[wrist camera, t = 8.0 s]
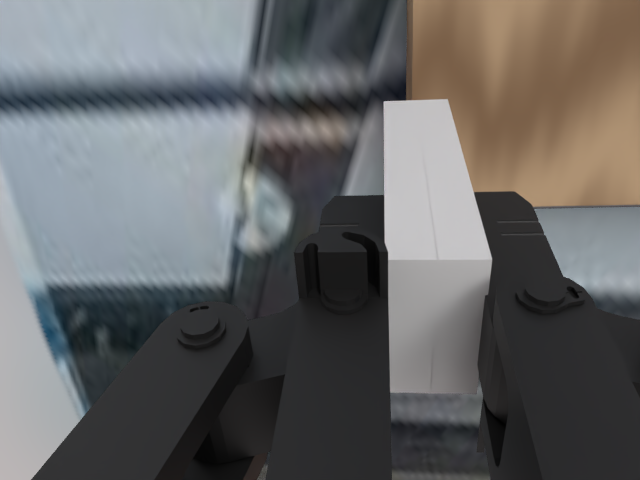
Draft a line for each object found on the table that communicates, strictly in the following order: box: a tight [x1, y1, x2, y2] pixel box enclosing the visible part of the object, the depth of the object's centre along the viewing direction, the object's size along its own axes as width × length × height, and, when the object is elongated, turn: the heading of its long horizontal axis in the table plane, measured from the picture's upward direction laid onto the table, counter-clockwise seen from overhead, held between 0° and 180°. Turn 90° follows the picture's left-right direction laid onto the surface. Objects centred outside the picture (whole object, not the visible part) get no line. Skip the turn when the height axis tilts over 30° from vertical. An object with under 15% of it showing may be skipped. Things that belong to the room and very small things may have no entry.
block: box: [406, 0, 640, 207], centre depth 20 cm, size 9×5×14 cm
